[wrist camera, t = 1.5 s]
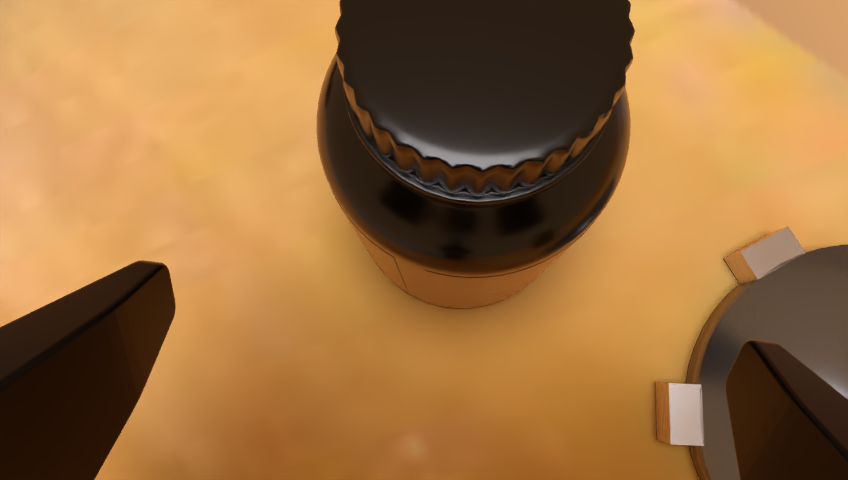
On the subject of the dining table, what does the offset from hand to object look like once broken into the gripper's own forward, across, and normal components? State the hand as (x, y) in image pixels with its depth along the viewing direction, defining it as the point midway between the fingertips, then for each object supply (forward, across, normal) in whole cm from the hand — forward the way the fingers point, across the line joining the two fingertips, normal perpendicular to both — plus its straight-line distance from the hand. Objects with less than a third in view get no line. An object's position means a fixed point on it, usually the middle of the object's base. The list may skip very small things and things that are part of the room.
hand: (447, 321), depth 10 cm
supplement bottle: (+11, 0, +5) cm, 12 cm away
